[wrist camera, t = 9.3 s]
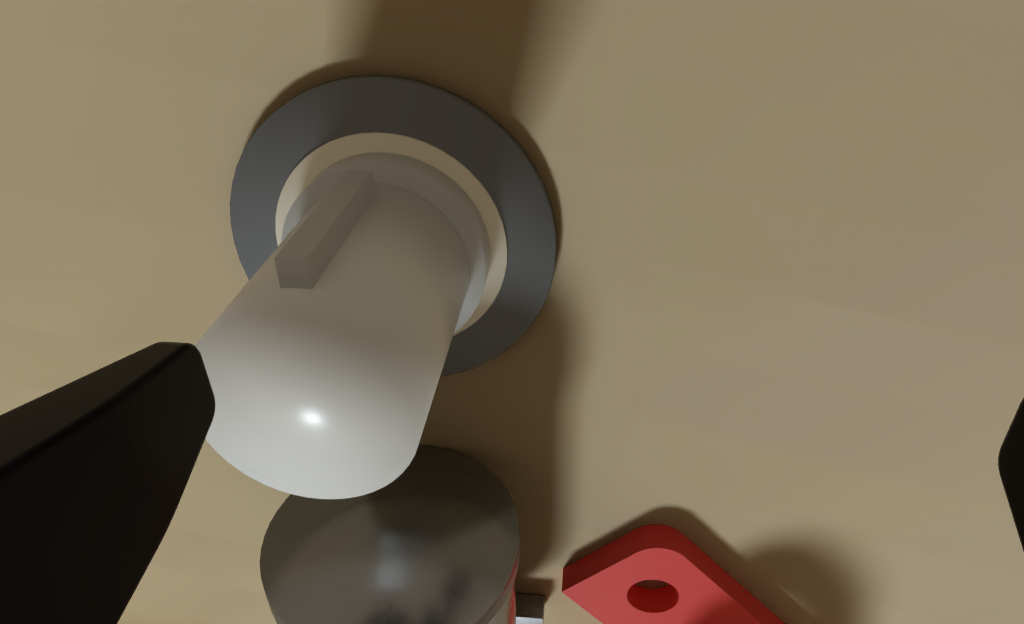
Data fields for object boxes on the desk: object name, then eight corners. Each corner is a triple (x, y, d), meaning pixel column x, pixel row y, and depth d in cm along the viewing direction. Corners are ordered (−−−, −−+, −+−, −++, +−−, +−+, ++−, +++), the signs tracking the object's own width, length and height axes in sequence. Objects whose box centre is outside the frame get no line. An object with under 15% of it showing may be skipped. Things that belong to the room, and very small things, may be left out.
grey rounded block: (544, 452, 24) (523, 663, 18) (544, 605, 28) (527, 819, 22) (297, 438, 25) (194, 634, 18) (333, 589, 29) (258, 790, 23)
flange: (558, 75, 17) (557, 81, 17) (555, 377, 22) (553, 387, 22) (201, 74, 18) (191, 79, 18) (271, 363, 23) (265, 373, 23)
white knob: (493, 334, 21) (450, 521, 15) (312, 326, 22) (202, 504, 16) (486, 146, 18) (429, 286, 12) (276, 142, 19) (123, 275, 13)
